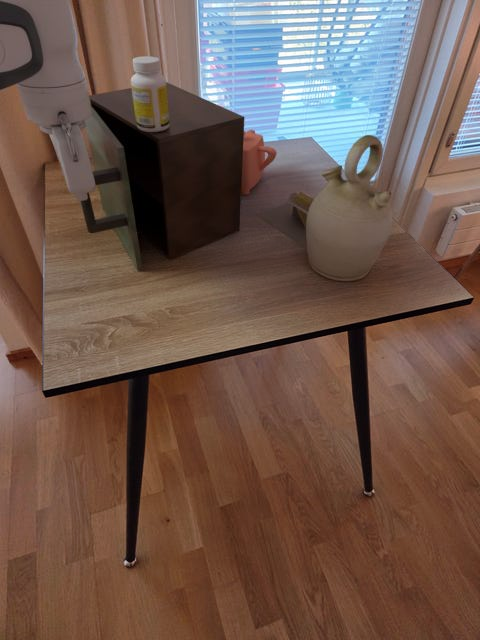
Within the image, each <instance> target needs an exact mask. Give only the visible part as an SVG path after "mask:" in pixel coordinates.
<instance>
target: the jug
mask: <svg viewBox="0 0 480 640" xmlns="http://www.w3.org/2000/svg"><path fill="white" fill-rule="evenodd" d="M367 149H369V154H368V158H367V161H366V164H365V166H364V167H363V168H362V170H361V171H359V172H358V165H359V163H360V160H361V158H362V156H363V154H364V153H365V152H366V151H367ZM383 156H384V147H383V143H382V141H381V140H380V139H379V138H378V137H377V136H375V135H373V134H366V135H363V136H361V137H359V138H358V139H357V140H356V141H355V142H354V143H353V144H352V145H351V147H350V149H349V151H348V152H347V154H346V158H345V161H344V169H343V165H340V164H339V165H337V166H334V167H331V168H329V169H326V170H323V171H322V172H321V173H320V174H321V176H322V177H323V178H324V179H325V181H326V182H327V185H326V186H325V188H323V189H322V190H320V191H319V193H317V195H316V196H315V198H313V199H314V200H313V199H312V200H313V202H312V204H311V206H310V208H309V211H308V214H307V220H306V240H307V250H306V252H307V257H308V259H307V260H308V263H309V266H310V267H311V269H312V270H313V271H314V272H315V273H317V274H318V275H320V276H321V277H324V278H326V279H328V280H333V281H338V282H355V281H359V280H361V279H363V278H364V277H366V276H367V275H368V274H369V273H370V270H371V269H372V267H374V265H375V263H376V262H377V260H378V258H379V256H380V254H381V253H382V251H383V250H384V247H385V245H386V244H387V242H388V241H389V238H390V236H391V232H392V228H393V210H392V206H391V203H390V200H391V198H392V192H391V191H390V190H385V191H381V190H379V189H378V188H377V187H376V186H374V185H372V184H371V182H370V181H371V180H372V178H373V177H374V176H375V175H376V174H377V172H378V170H379V168H380V166H381V163H382V160H383ZM342 170H344V176H345V178H346V179H344V178H343V176H342V175H343V171H342Z"/></svg>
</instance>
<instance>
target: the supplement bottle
mask: <svg viewBox="0 0 480 640" xmlns="http://www.w3.org/2000/svg"><path fill="white" fill-rule="evenodd" d="M132 67H133V71H134V72H135V74H133V75H132V76H131V78H130V88H132V95H133V102H134V110H135V117H136V124H137V127H138V128H139V129H140V130H142V131H145V132H160V131H164V130H166V129H168V127H169V112H168V101H167V88H166V82H167V80H166V78H165V76H164V75H162V73H160V71H161V62H160V58H159V57H156V56H150V55H149V56H148V55H147V56H137V57H134V58H133V59H132Z"/></svg>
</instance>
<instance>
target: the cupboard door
mask: <svg viewBox="0 0 480 640" xmlns="http://www.w3.org/2000/svg"><path fill="white" fill-rule="evenodd" d="M91 107H92V106H91ZM85 122H86V127H85V131H86V136H87V140H88V146H89V150H90V155H91V159H92V165H93V170H92V171H93V175H94V179H95V185H96V186H97V188H98V193H99V198H100V202H101V208H102V210H103V212H104V213H105V215H106V217H102V218H97V219H96V217H95V214H94V213H95V212H94V207H93V203H92V200H91V196H90V192H89V193H87V195H88V199H87V200H83V201H80V205H81V209H82V213H83V217H84V221H85V225H86V229H87V232H88V233H89V234H96V233H100V232H105V231H109V230H114V232H115V233H116V235H117V237H118V238H119V241H120V242H121V244H122V246H123V247H124V249H125V251H126V253H127V255H128V256H129V259H130V261H131V262H132V264H133V266H134V267H135V269H136V271H137V272H140V271H143V261H142V256H141V250H140V244H139V243H140V242H139V238H138V233H137V230H136V223H135V217H134V210H133V204H132V197H131V191H130V185H129V178H128V172H127V165H126V159H125V152H124V147H123V146H122V145H121V143H120V142H119V141H118V140H117V138H116V137H115V136H114V134H113V133H112V132H111V131H110V129H109V128H108V127H107V125H106V124H105V123H104V122H103V120H102V119H101V118H100V116H99V115H98V114H97V113H96V111H95V110H94V109H93V107H92V115H91V116H90V117H89V118H87V119H86V120H85Z"/></svg>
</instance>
